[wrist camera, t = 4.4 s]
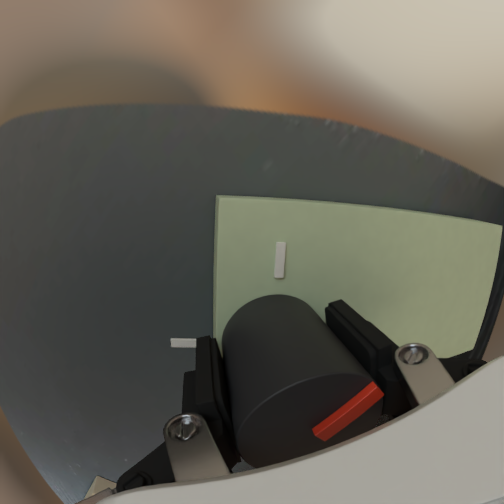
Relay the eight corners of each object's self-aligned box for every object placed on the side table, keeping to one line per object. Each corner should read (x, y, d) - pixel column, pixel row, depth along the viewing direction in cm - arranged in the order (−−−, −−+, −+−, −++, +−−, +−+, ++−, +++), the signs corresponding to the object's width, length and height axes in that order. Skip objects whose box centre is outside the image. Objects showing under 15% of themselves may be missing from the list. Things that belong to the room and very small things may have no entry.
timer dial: (266, 394, 13) (299, 491, 7) (199, 342, 12) (202, 451, 6) (338, 336, 13) (406, 416, 7) (279, 272, 11) (343, 348, 6)
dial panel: (181, 378, 15) (178, 415, 12) (175, 194, 13) (167, 196, 10) (444, 346, 18) (469, 364, 15) (472, 219, 16) (504, 226, 13)
